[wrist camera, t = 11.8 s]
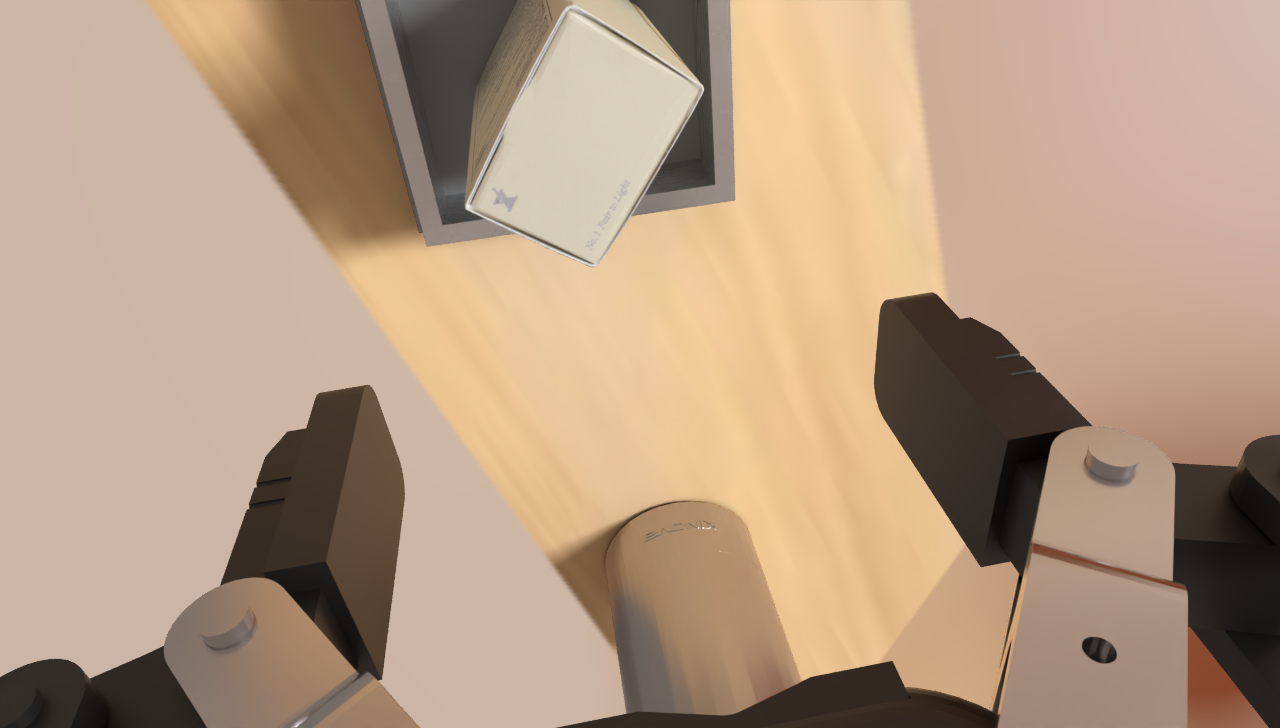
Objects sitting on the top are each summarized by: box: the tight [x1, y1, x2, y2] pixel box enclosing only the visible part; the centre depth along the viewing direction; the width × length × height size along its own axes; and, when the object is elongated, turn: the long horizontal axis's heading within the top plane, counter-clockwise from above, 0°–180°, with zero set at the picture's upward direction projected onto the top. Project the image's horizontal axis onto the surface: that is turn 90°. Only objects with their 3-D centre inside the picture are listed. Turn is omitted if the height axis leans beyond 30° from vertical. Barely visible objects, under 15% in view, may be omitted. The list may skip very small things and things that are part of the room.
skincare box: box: [464, 0, 704, 267], centre depth 27 cm, size 6×4×12 cm
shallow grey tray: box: [360, 0, 735, 247], centre depth 30 cm, size 13×13×3 cm
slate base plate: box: [355, 0, 700, 233], centre depth 32 cm, size 14×14×1 cm
